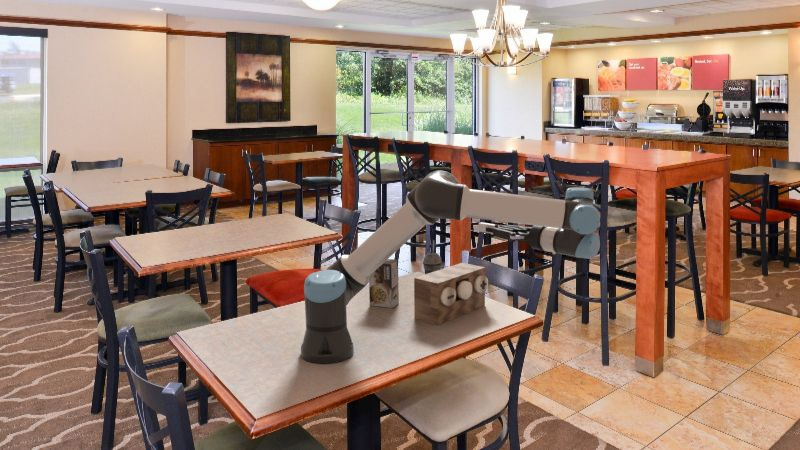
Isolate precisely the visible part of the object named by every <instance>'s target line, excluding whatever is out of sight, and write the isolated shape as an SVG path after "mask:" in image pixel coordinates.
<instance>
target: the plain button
mask: <svg viewBox="0 0 800 450" xmlns="http://www.w3.org/2000/svg"><path fill="white" fill-rule="evenodd" d="M471 293H472V284H471V283H470V282H468V281H461V282H460V283H459V284H458V287H457V296H458V297H459V298H461V299H468V298H469V297H470V296H471Z"/></svg>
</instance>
